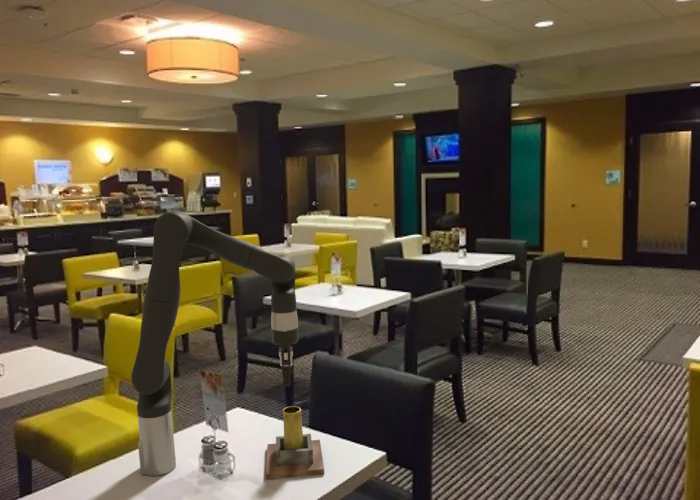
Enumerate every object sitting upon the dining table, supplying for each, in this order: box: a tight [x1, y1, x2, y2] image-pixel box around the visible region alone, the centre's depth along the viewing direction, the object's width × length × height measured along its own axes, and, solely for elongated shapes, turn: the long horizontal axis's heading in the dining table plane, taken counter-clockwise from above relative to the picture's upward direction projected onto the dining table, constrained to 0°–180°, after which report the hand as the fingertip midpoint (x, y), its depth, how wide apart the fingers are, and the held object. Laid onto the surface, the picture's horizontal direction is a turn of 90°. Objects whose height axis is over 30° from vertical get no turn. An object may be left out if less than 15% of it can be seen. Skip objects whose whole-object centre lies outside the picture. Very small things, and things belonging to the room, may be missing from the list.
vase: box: [282, 405, 304, 451], centre depth 170 cm, size 6×6×14 cm
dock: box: [265, 433, 325, 481], centre depth 171 cm, size 16×18×6 cm
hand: (287, 380), depth 169 cm, fingers open, 8 cm apart
